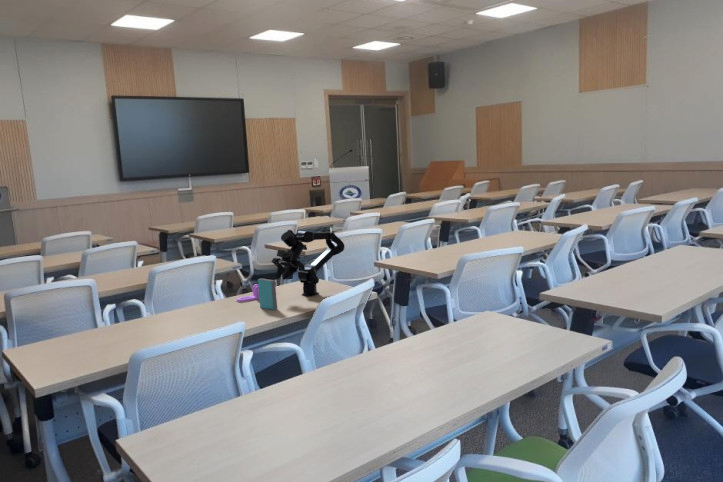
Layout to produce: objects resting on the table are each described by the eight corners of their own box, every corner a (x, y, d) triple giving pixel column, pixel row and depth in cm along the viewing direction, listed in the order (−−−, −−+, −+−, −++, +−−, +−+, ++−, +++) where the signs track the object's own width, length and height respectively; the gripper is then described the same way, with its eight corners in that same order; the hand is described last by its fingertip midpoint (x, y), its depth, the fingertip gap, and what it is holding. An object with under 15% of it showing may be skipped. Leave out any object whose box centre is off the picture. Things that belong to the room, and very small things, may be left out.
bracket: (260, 296, 294) (259, 283, 293) (263, 298, 289) (262, 285, 288) (235, 300, 289) (234, 287, 288) (237, 303, 284) (236, 289, 283)
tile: (263, 306, 274) (261, 278, 272) (277, 309, 268) (274, 280, 265) (259, 307, 272) (257, 279, 270) (273, 310, 266) (271, 281, 264)
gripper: (272, 241, 282) (257, 267, 275) (298, 244, 270) (283, 271, 263) (285, 254, 289) (271, 280, 282) (311, 257, 277) (296, 284, 270)
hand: (280, 278), depth 274 cm, fingers open, 4 cm apart
